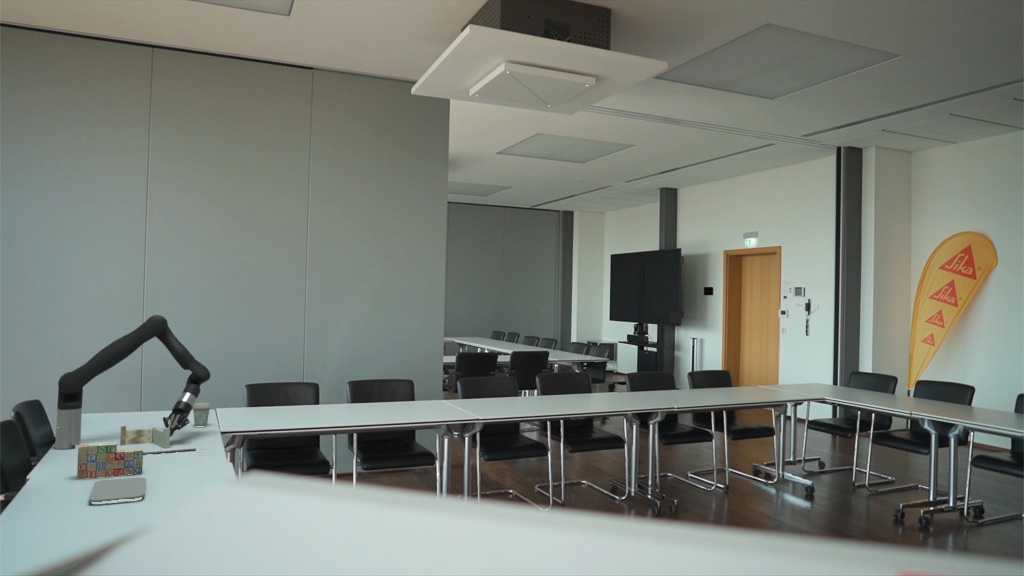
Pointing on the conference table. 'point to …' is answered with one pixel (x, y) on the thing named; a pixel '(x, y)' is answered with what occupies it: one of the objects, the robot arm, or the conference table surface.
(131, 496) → the tablet
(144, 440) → the fixed fence panel
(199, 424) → the coffee cup
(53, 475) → the conference table surface
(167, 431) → the hinged fence panel
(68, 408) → the robot arm
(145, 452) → the board
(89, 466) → the stack of blocks
